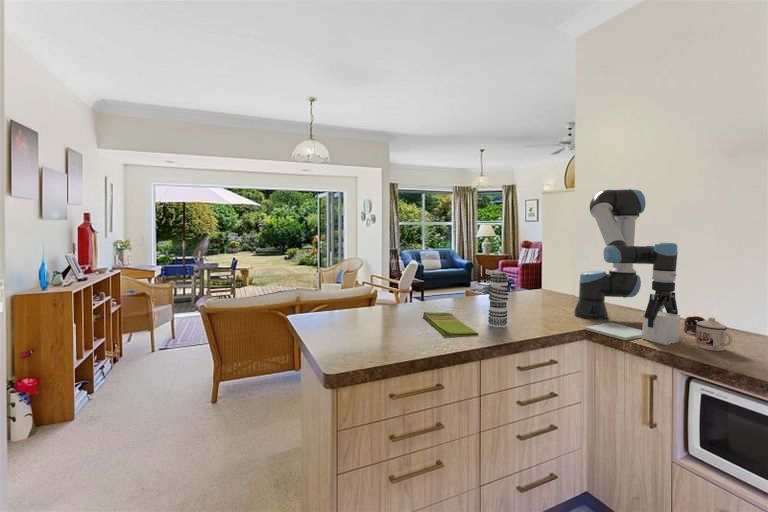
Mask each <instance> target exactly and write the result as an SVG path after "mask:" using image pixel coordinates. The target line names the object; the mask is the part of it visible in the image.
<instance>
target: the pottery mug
mask: <svg viewBox="0 0 768 512" xmlns="http://www.w3.org/2000/svg"><path fill="white" fill-rule="evenodd" d="M704 320H706V319H705V318H704V317H702V316H695V315H694V316H687V317H686V318H685V320H684V324H683V325H684V326H683V327H684V328H683V331H684V332H685V333H688V332H696V329H697V325H696V324H697V322H700V321H704Z"/></svg>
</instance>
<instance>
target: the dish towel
mask: <svg viewBox="0 0 768 512" xmlns="http://www.w3.org/2000/svg"><path fill="white" fill-rule="evenodd" d="M422 318H423V319H424V320H426V321H427V322H428V323H429V324H430V325H431V326H432V327H433V328H434V329H435V330H437V332H438V333H440V334H441V335H442V336H444V337H445V338H446V337H447V338H449V337H469V336H468V335H477V336H479V333H478V332H477V331H475V330H474V329H473V328H472V327H470V326H467V325H466V324H465V323H463V322H462V321H460V319H458V317H456V316H454V314H452V313H450V312H430V311H429V312H428V311H424V312H423V315H422Z"/></svg>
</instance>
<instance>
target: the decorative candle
mask: <svg viewBox="0 0 768 512" xmlns="http://www.w3.org/2000/svg"><path fill="white" fill-rule="evenodd" d="M508 277H509V275H508V274H507V273H506V272H504V271H492V272H491V274H490V281H489V285H488V291H489V292H488V301H489V307H488V312H489V313H488V317H487V319H488V321H487V322H488V326H490V327H492V326H493V327H492V328H498V327H503V328H507V327H508V307H507V306H508V305H507V303H508V302H509V297H508V296H509V289H508V288H510V285H508V284H509V283H508ZM506 326H507V327H506Z"/></svg>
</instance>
